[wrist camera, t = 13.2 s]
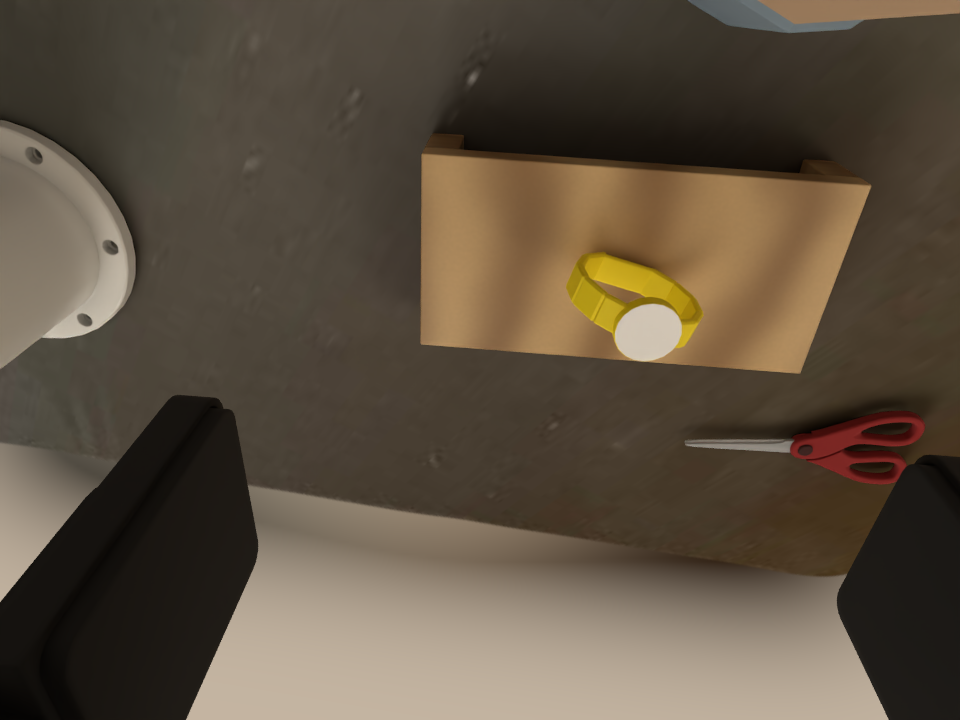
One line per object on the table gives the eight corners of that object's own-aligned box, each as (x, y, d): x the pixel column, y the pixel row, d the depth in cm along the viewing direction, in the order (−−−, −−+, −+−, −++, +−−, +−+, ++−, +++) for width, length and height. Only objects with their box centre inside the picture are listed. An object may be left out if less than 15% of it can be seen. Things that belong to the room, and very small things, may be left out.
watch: (556, 277, 32) (562, 338, 27) (579, 226, 30) (590, 280, 25) (668, 315, 32) (694, 381, 27) (695, 267, 31) (728, 327, 26)
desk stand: (429, 309, 38) (420, 344, 34) (432, 132, 32) (421, 153, 29) (775, 336, 37) (800, 374, 34) (835, 160, 32) (872, 185, 28)
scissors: (894, 476, 42) (901, 487, 41) (676, 469, 43) (679, 480, 42) (923, 408, 39) (932, 419, 38) (690, 403, 40) (693, 412, 39)
